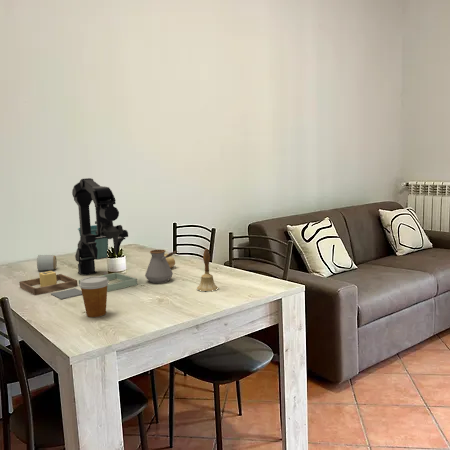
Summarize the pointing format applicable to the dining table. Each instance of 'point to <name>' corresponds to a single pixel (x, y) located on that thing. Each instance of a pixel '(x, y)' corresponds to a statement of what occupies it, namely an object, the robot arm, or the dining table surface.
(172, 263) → the onion
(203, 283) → the hand bell
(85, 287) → the disposable coffee cup
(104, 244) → the flower pot
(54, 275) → the letter block
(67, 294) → the rubber mat
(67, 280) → the walnut tray
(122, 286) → the sage tray
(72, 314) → the dining table surface
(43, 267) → the grey cylinder
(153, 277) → the coffee pot
